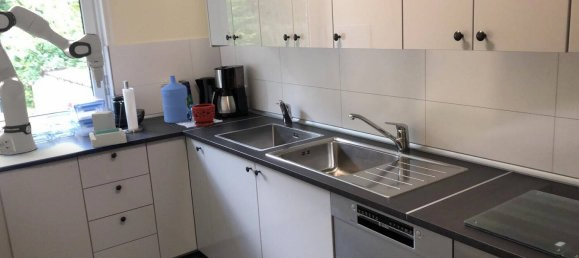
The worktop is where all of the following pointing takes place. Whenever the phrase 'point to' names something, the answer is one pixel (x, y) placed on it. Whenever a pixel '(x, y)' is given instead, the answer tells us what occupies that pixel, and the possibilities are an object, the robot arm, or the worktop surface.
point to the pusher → (107, 131)
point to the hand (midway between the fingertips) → (99, 87)
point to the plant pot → (203, 114)
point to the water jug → (174, 102)
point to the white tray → (108, 138)
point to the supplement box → (103, 120)
